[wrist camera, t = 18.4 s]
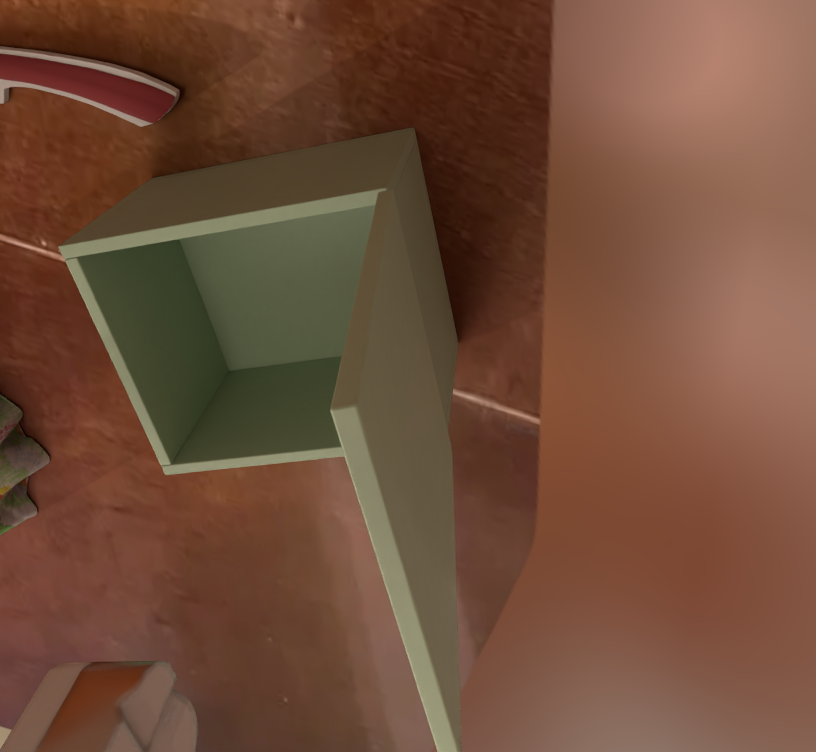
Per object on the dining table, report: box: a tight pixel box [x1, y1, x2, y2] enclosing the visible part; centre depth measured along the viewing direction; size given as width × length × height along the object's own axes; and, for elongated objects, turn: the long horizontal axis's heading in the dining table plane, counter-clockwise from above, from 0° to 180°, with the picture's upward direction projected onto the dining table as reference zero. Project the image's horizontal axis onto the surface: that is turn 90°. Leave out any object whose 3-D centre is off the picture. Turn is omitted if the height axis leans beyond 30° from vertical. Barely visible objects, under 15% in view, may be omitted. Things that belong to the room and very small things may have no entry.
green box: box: [59, 127, 459, 475], centre depth 37 cm, size 14×12×10 cm
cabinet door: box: [330, 190, 462, 752], centre depth 25 cm, size 15×12×1 cm
